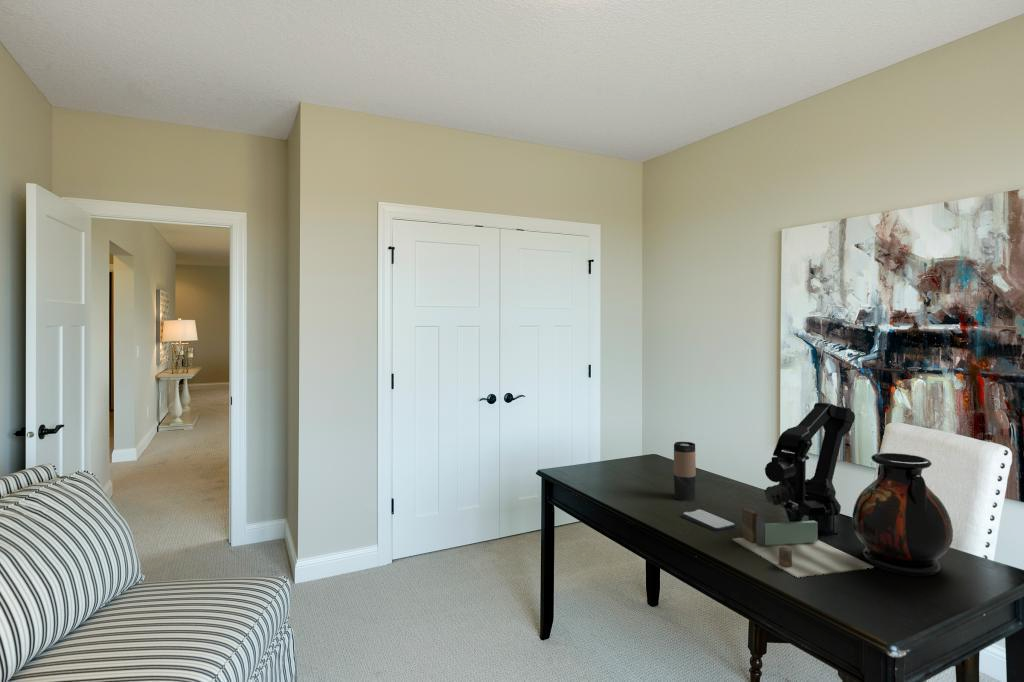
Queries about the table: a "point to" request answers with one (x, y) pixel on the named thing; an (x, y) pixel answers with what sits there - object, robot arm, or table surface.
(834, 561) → the gate base
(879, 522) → the amphora vase
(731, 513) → the table surface
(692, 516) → the phone case
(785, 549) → the stop post
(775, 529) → the gate
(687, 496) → the travel mug
